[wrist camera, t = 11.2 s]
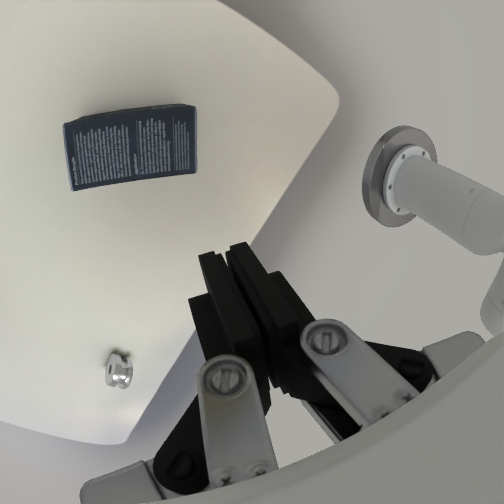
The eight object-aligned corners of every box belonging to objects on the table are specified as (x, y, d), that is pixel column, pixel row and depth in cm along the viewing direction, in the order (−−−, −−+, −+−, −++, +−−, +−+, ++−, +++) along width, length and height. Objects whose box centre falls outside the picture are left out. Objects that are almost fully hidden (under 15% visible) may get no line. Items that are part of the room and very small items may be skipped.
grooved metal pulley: (114, 346, 38) (116, 373, 34) (132, 351, 40) (136, 378, 36) (104, 365, 39) (106, 391, 35) (121, 370, 41) (124, 395, 37)
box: (184, 155, 29) (85, 169, 26) (183, 102, 26) (80, 115, 23) (198, 175, 23) (69, 193, 20) (197, 105, 20) (60, 123, 17)
